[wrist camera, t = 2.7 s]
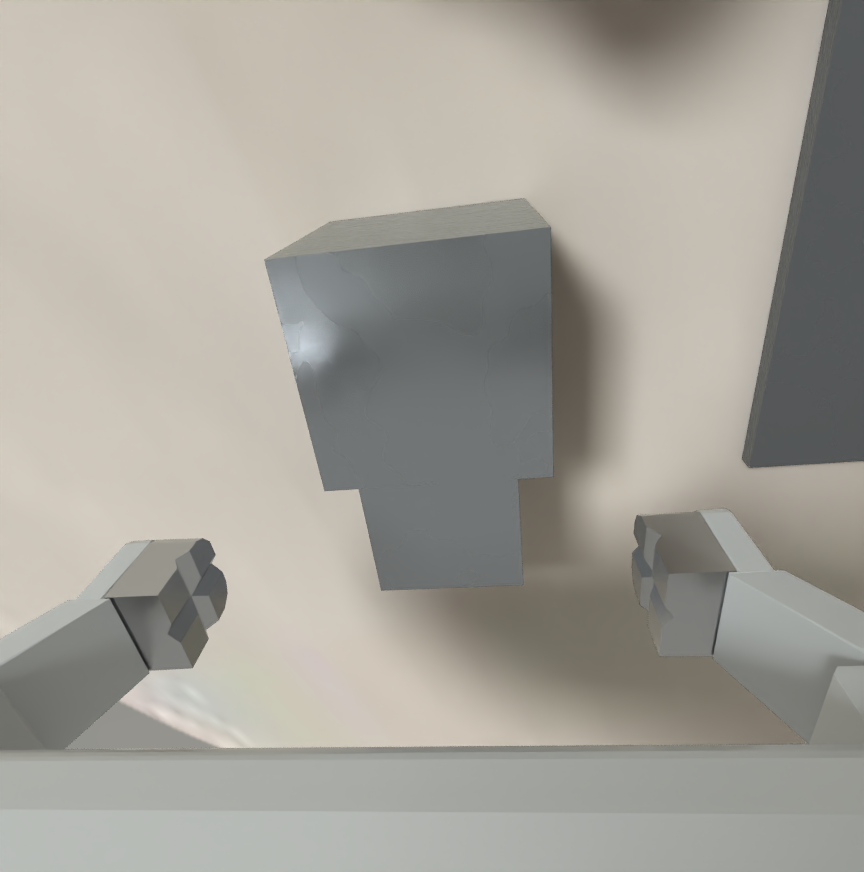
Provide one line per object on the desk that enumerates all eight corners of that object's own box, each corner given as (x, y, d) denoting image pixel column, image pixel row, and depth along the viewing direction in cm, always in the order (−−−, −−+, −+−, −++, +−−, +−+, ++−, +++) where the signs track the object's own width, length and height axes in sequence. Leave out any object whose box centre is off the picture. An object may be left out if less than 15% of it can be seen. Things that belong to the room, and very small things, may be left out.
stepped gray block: (329, 222, 17) (264, 259, 12) (524, 198, 16) (550, 227, 11) (381, 484, 22) (352, 596, 17) (533, 474, 21) (554, 588, 16)
